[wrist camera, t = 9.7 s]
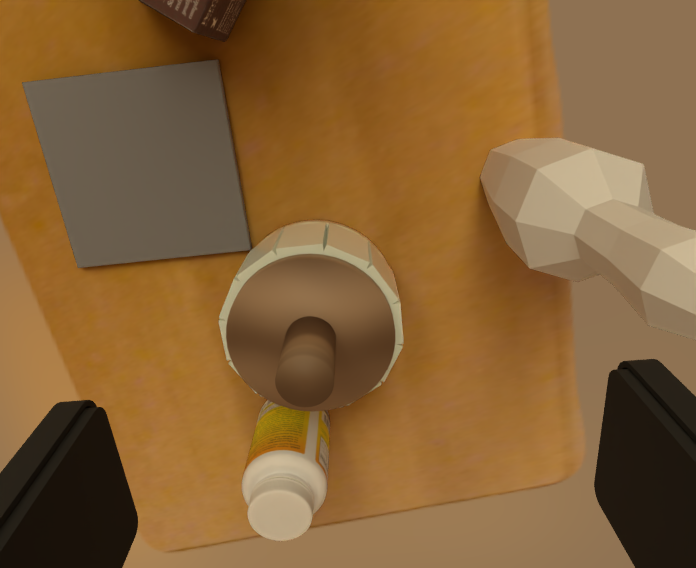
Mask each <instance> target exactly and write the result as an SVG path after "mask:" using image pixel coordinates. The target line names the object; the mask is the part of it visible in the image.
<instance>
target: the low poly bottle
mask: <svg viewBox="0 0 696 568" xmlns="http://www.w3.org/2000/svg"><path fill="white" fill-rule="evenodd" d="M480 179H481V182H482V186H483V189H484V192H485V195H486V198H487V202H488V204H489V206H490V208H491V211H492V213H493V215H494V217H495V219H496V222H497V224H498V226H499V228H500V230H501V233H502V235H503V237H504V239H505V241H506V243H507V244H508V246H509V247H510V248H511V249H512V250H513V251H514V252H515V253H516V254H517V255H518V256H519V257H520V259H521V260H522V261H523V262H524V263H525V264H526V265H527V266H528V267H529V268H530V269H533V270H536V271H540V272H543V273H547V274H550V275H554V276H557V277H561V278H564V279H568V280H571V281H575V282H580V281H583V280H585V279H588V278H591V277H594V276H597V275H601V276H603V277H604V278H605V279H606V280H607V281H609V282H610V283H611V284H612V285H614V286H615V287H616V289H617V290H618V291H619V292H620V293H621V294H622V296H623V297H624V298H625V299H626V300H627V301H628V302H629V304H630V305H631V306H632V307H633V308H634V310H635V311H636V312H637V313H638V314H639V315H640V316H641V318H642V319H643V320H644V321H645V322H646V323H647V324H648V325H649V326H651V327H655V328H658V329H661V330H665V331H667V332H671V333H674V334H677V335H680V336H683V337H687V338H690V339H694V340H696V231H695V230H692V229H688V228H685V227H682V226H679V225H677V224H675V223H672V222H670V221H668V220H666V219H664V218H662V217H659V216H657V215H655V214H654V213H653V208H652V203H651V198H650V193H649V188H648V184H647V179H646V174H645V169H644V164H642V163H639V162H635V161H632V160H629V159H626V158H623V157H619V156H616V155H612V154H609V153H607V152H603V151H600V150H597V149H594V148H590V147H587V146H584V145H581V144H578V143H574V142H571V141H568V140H565V139H561V138H534V139H517V140H514V141H512V142H509V143H506V144H504V145H501V146H499V147H496V148H494V149H491V150H490V152H489V154H488V157H487V160H486V162H485V165H484V168H483V170H482V173H481V176H480Z"/></svg>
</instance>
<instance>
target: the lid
mask: <svg viewBox="0 0 696 568" xmlns="http://www.w3.org/2000/svg"><path fill="white" fill-rule="evenodd" d="M226 341H227V348H228V351H229V355H230V358H231V360H232V362H233V365H234V367H235V368H236V370H237V372H238V373H239V375H240V376H241V377H242V379H243V380H244V381H245V382H246V383H247V384H248V385H249V386H250V387H251V388H252V389H253V390H254V391H255V392H257V393H258V394H259V395H261V396H262V397H264V398H266V399H267V400H269V401H271V402H273V403H275V404H278V405H280V406H283V407H286V408H290V409H294V410H300V411H325V410H332V409H336V408H339V407H343V406H345V405H348V404H350V403H352V402H354V401H356V400H358V399H360V398H361V397H363V396H364V395H365V394H367V393H368V392H369V391H370V390H372V389H373V388H374V387H375V386H376V385H377V384H378V382H379V381H380V380H381V379H382V377H383V376H384V374H385V373H386V371H387V369H388V367H389V365H390V363H391V360H392V357H393V353H394V348H395V326H394V320H393V315H392V311H391V308H390V305H389V303H388V301H387V299H386V297H385V295H384V293H383V292H382V290H381V289H380V287H379V286H378V285H377V284H376V282H375V281H374V280H373V279H372V278H371V277H370V276H369V275H367V274H366V273H365V272H364V271H362V270H361V269H359V268H358V267H356V266H355V265H353V264H351V263H349V262H347V261H345V260H342V259H339V258H336V257H332V256H328V255H323V254H298V255H292V256H287V257H284V258H281V259H278V260H276V261H273V262H271V263H269V264H267V265H266V266H264V267H263V268H261V269H259V270H258V271H257V272H256V273H255V274H253V275H252V276H251V277H250V278H249V279H248V280H247V281H246V283H245V284H244V285H243V287H242V288H241V290H240V291H239V292H238V294H237V296H236V298H235V300H234V302H233V305H232V307H231V309H230V312H229V315H228V319H227V326H226Z"/></svg>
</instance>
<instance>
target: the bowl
mask: <svg viewBox="0 0 696 568" xmlns="http://www.w3.org/2000/svg"><path fill="white" fill-rule="evenodd" d="M298 254H323V255H328V256H332V257H336V258H339V259H342V260H345V261H347V262H349V263H351V264H353V265H355V266H356V267H358V268H359V269H361V270H362V271H364V272H365V273H366V274H367V275H369V276H370V277H371V278H372V279H373V280H374V281H375V282H376V284H377V285H378V286H379V287H380V289H381V290H382V292H383V293H384V295H385V297H386V299H387V301H388V303H389V305H390V308H391V311H392V315H393V320H394V326H395V348H394V353H393V357H392V360H391V363H390V365H389V367H388V369H387V371H386V373H385V374H384V376H383V377H382V379H381V380H380V381H379V382H378V384H377V385H376V386H375V387H374V388H373V389H372V390H374V389H375V388H377V387H379V386H380V385H382V382H381V381H383V382H384V381H385V379H386V378H387V376H388V374H389V372H390V370H391V368H392V366H393V365H394V363H395V361H396V359H397V357H398V355H399V353H400V351H401V350H402V348H403V345H402V344H404V342H403V329H402V317H401V304H400V299H399V295H398V290H397V286H396V281H395V277H394V275H393V271H392V270H391V268H390V267H389V265H388V263H387V261H386V259H385V258H384V256H383V255H382V253H381V251H380V250H379V249H378V248H377V247H376V246H375V244H374V243H372V242H371V241H370V240H369V239H368V238H367V237H366V236H364V235H363V234H361V233H360V232H358V231H356V230H354V229H352V228H351V227H349V226H346V225H343V224H340V223H337V222H332V221H327V220H305V221H299V222H294V223H291V224H288V225H285V226H283V227H281V228H279V229H277V230H275V231H273V232H272V233H270V234H269V235H267V236H266V237H265V238H264V239H263V240H262V241H260V242H259V244H258V245H257V246H256V247H254V248H253V249H252V250H250V252H249V253H248V255H247V257H246V258H245V260H244V262H243V264H242V265H241V267H240V269H239V271H238V272H237V274H236V276H235V278H234V280H233V282H232V285H231V287H230V290H229V293H228V295H227V298H226V300H225V303H224V305H223V308H222V310H221V313H220V316H219V318H220V319H219V326H220V331H221V336H222V340H223V345H224V350H225V354H226V359H227V360H230V361H229V363H228V364H229V365H230V366H231V367H232V368H233V369H234V370H235V371H236V372H237V370H236V368H235V367H234V365H233V362H232V360H231V358H230V355H229V351H228V348H227V341H226V326H227V319H228V315H229V312H230V309H231V307H232V305H233V302H234V300H235V298H236V296H237V294H238V292H239V291H240V290H241V288H242V287H243V285H244V284H245V283H246V281H247V280H248V279H249V278H250V277H251V276H252V275H253V274H255V273H256V272H257V271H258V270H259V269H261V268H263V267H264V266H266V265H267V264H269V263H271V262H273V261H276V260H278V259H281V258H284V257H287V256H292V255H298ZM237 373H238V372H237ZM238 375H239V373H238ZM239 376H240V375H239ZM240 377H241V376H240ZM241 378H242V377H241ZM249 387H250V386H249ZM250 388H251V387H250ZM251 389H252V388H251ZM252 390H253V389H252ZM372 390H370V391H372ZM253 391H254V390H253ZM370 391H369V392H370ZM254 392H255V391H254ZM369 392H368V393H369ZM255 393H256V394H257V392H255ZM365 395H366V394H365ZM259 396H261V395H259ZM261 397H262V396H261ZM352 403H353V402H352ZM350 404H351V403H350ZM350 404H348V405H350ZM348 405H347V406H348ZM343 407H344V406H343ZM339 408H340V407H339Z"/></svg>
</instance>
